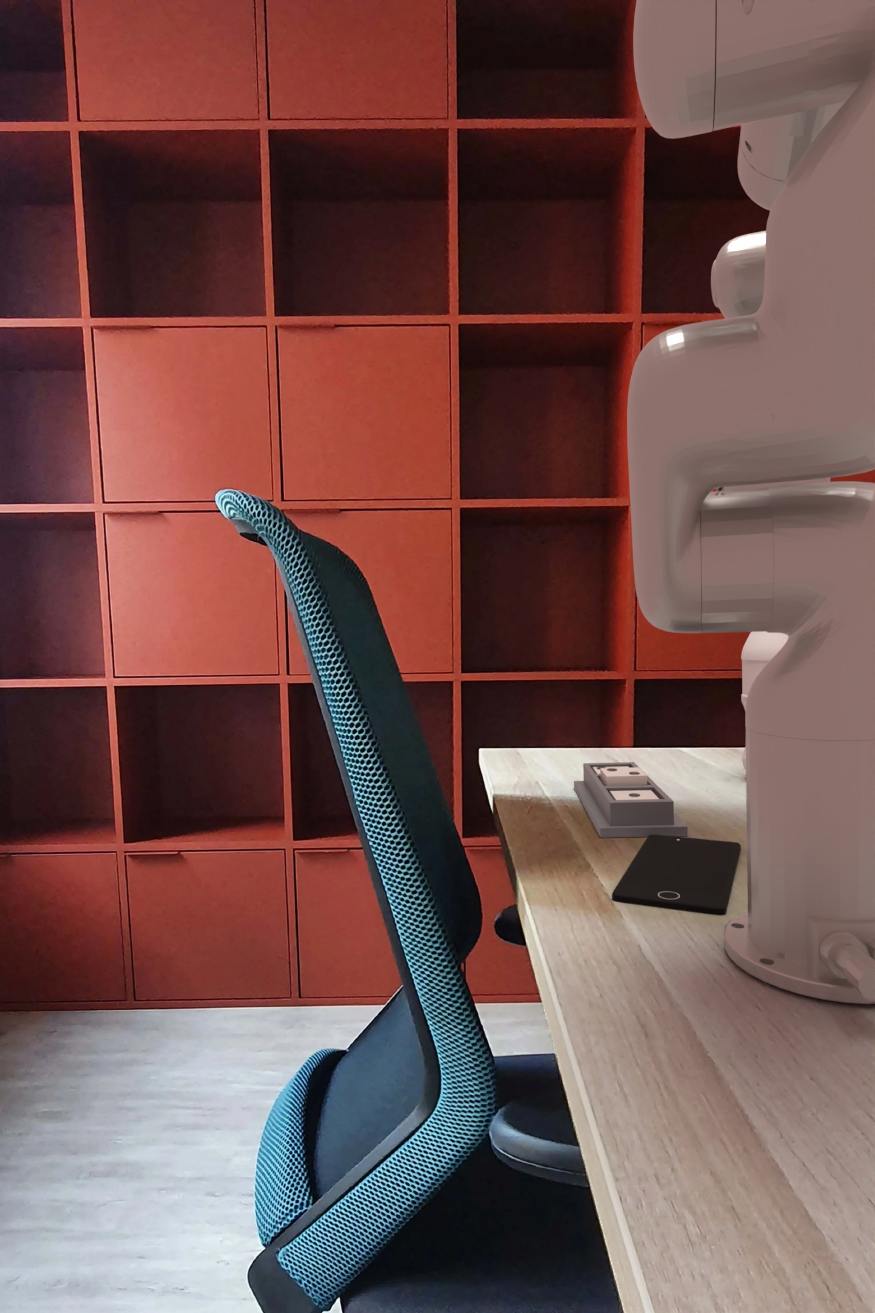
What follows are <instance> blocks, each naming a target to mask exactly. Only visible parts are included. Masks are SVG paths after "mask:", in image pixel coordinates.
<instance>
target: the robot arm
mask: <svg viewBox="0 0 875 1313" xmlns="http://www.w3.org/2000/svg"><path fill="white" fill-rule="evenodd" d="M633 16H634V20H633V35H632V36H633V37H632V38H633V39H632V42H633V44H632V46H633V48H632V49H633V50H632V51H633V65H634V66H633V67H634V75H635V82H636V87H637V92H638V96H639V100H640V103H641V107H642V111H643V112H644V114H645V116H646V119H647V121H648V122H649V124H650V126H651V127H652V128H653V130H654V131H655V132H656V133H657V134H658V135H659V136H661V137H663V138H665V139H681V138H686V137H693V136H699V135H702V134H707V133H712V132H714V131H720V130H723V129H727V128H728V129H729V128H733V127H737V126H740V132H739V133H740V136H739V142H738V143H739V144H738V153H737V174H738V179H739V182H740V185H741V187H742V189H743V190H744V192H745V194H746V195H747V196H748V197H749V198H750V199H751V201H753V202H754V203H755V204H757V205H758V206H760V207H761V208H763V209H765V210H768V211H769V213H768V214H769V215H768V218H767V222H766V229H765V230H761V231H757V232H752V233H747V234H743V235H739V236H736V237H734V238H732V239H730V240H728V241H727V242H726V243H725V244H724V245H723V246H722V247H721V248H720V250H719V251H718V254H717V256H716V258H715V260H714V261H713V262H712V265H711V272H710V274H711V275H710V289H711V297H712V302H713V304H714V306H715V307H716V308H718V309H719V311H720V313H721V315H723V318H720V319H713V320H705V321H700V322H694V323H688V324H683V325H679V326H676V327H673V328H670V329H667V330H664V331H662V332H661V333H659V334H657V335H656V336H654V337H653V338H651V340H649V341H648V342H647V343H646V345H644V347H643V348H642V350H641V351H640V352H639V354H638V356H637V358H636V360H635V362H634V364H633V369H632V373H631V376H630V380H629V387H628V394H627V409H626V410H627V411H626V418H627V421H626V425H627V426H626V434H627V435H626V437H627V438H626V439H627V442H626V443H627V461H628V462H627V463H628V481H629V483H628V484H629V498H630V500H629V501H630V502H629V503H630V522H631V542H632V544H631V545H632V560H633V561H632V562H633V564H632V565H633V574H634V586H635V592H636V597H637V602H638V605H639V609H640V611H641V614H642V615H643V616H644V618H645V619H646V620H647V621H648V622H649V624H651V625H652V626H653V627H654V628H657V629H658V630H660V631H661V630H662V631H664V632H670V633H676V634H677V633H678V634H679V633H681V634H706V633H707V634H709V633H710V634H712V633H713V634H714V633H751V632H763V631H766V632H767V633H783V634H786V635H788V640H787V642H786V643H785V645H784V646H783V647H782V648H781V649H780V651H779V652H778V653H777V654H776V655H775V656H774V657H773V658H772V659H771V660H770V661H769V663H768V664H767V665H766V666H765V667H764V668H763V669H762V671H761V672H760V673H759V675H758V676H757V677H756V679H755V681H754V682H753V684H752V686H751V688H750V691H749V693H748V697H747V701H746V710H745V709H744V711H745V716H744V717H745V719H744V720H745V723H744V724H745V725H744V726H745V746H746V771H745V776H746V777H745V783H746V784H745V790H746V793H745V795H746V796H745V797H746V799H745V800H746V802H745V803H746V805H745V806H746V864H747V865H746V866H747V869H746V872H747V876H746V877H747V883H746V884H747V911H744V912H741V913H739V914H738V915H736V916H735V917H732V918H731V919H730V920H729V921H728V922H727V923H726V924H725V925H724V926H725V927H724V930H723V931H724V932H723V941H724V942H723V943H724V950H725V951H726V953H727V955H728V957H729V958H730V959H731V961H733V962H734V964H735V965H737V966H738V967H739V968H741V969H742V970H743V971H744V972H746V973H747V974H749V975H750V976H753V977H755V978H756V979H759V980H760V981H762V982H764V983H767V984H769V985H771V986H774V987H776V988H779V989H782V990H784V991H787V992H791V993H794V994H798V995H801V996H805V997H810V998H814V999H819V1000H822V1001H823V1000H824V1001H830V1002H836V1003H837V1002H838V1003H844V1004H855V1005H856V1004H858V1005H875V482H868V481H867V482H866V481H851V480H849V481H848V480H847V481H846V480H845V481H841V480H840V481H831V478H838V477H847V476H853V475H858V474H864V473H865V474H866V473H868V472H871V471H875V0H636V2H635V9H634V15H633ZM714 490H716V491H714Z"/></svg>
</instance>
